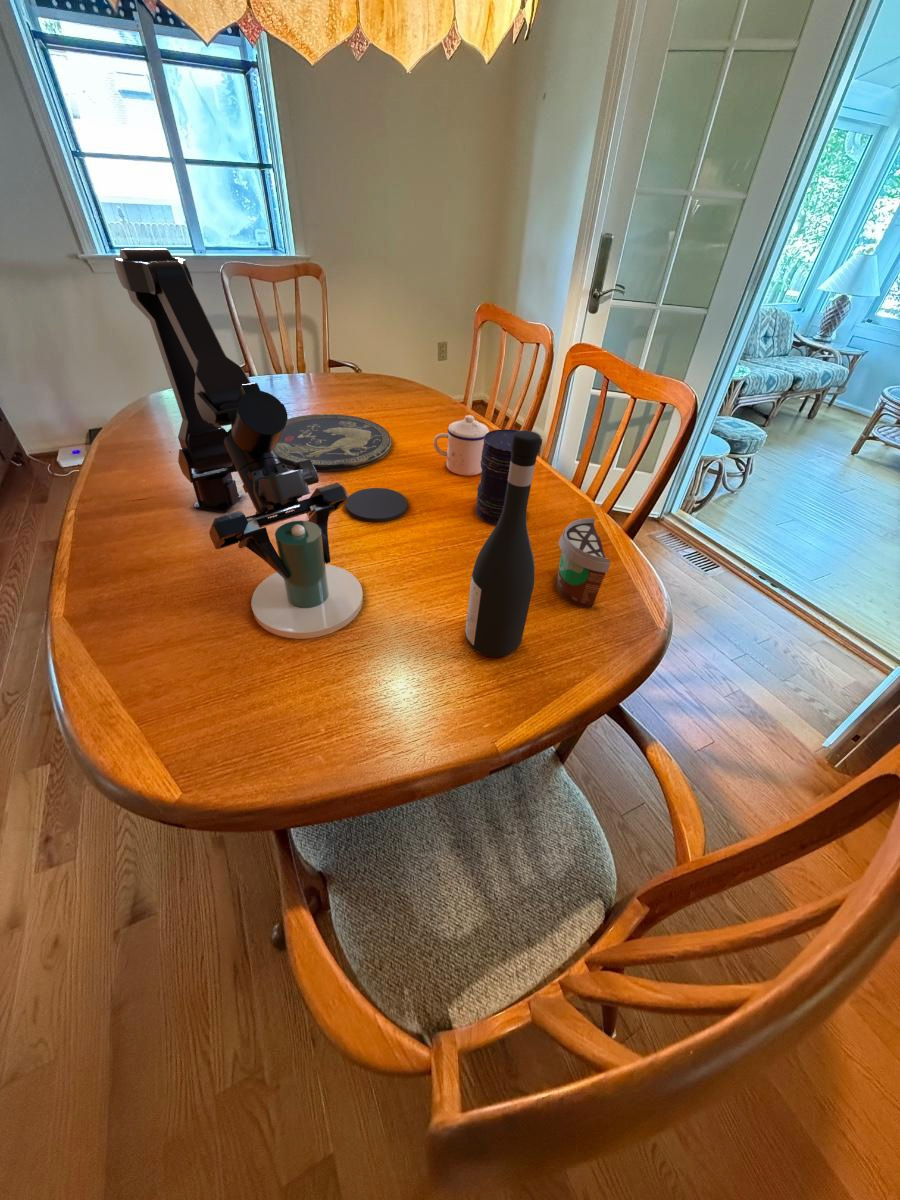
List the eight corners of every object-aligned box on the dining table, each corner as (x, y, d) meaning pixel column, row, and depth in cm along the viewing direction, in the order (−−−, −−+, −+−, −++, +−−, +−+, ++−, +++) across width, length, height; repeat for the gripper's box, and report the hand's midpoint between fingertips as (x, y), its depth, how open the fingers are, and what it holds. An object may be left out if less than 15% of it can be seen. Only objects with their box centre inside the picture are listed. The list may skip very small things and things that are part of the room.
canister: (280, 604, 72) (265, 533, 64) (296, 579, 76) (285, 510, 68) (320, 611, 71) (310, 540, 63) (334, 585, 76) (326, 517, 68)
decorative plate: (234, 452, 107) (294, 406, 129) (236, 460, 108) (295, 413, 130) (368, 474, 103) (405, 422, 126) (368, 482, 105) (405, 430, 127)
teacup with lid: (486, 461, 116) (492, 411, 108) (483, 478, 109) (490, 426, 101) (435, 455, 116) (437, 405, 109) (430, 472, 109) (432, 420, 102)
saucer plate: (232, 628, 69) (230, 622, 68) (280, 562, 81) (279, 556, 80) (343, 647, 68) (342, 640, 67) (375, 577, 80) (375, 571, 79)
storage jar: (478, 526, 94) (487, 450, 84) (472, 500, 101) (479, 428, 91) (530, 526, 95) (544, 452, 85) (519, 500, 102) (532, 429, 93)
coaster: (337, 517, 93) (336, 513, 92) (356, 487, 102) (356, 484, 101) (399, 526, 92) (399, 522, 91) (413, 495, 101) (413, 492, 100)
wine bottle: (456, 650, 68) (478, 440, 49) (474, 615, 74) (501, 415, 55) (512, 668, 67) (558, 457, 47) (526, 630, 72) (572, 429, 53)
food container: (544, 564, 86) (556, 513, 79) (580, 566, 86) (594, 516, 79) (554, 611, 76) (568, 558, 70) (593, 614, 76) (611, 561, 70)
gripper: (193, 459, 56) (253, 583, 58) (336, 427, 66) (385, 533, 67) (187, 493, 66) (239, 599, 67) (314, 460, 76) (357, 553, 77)
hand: (308, 570), depth 69 cm, fingers closed on canister, 6 cm apart
